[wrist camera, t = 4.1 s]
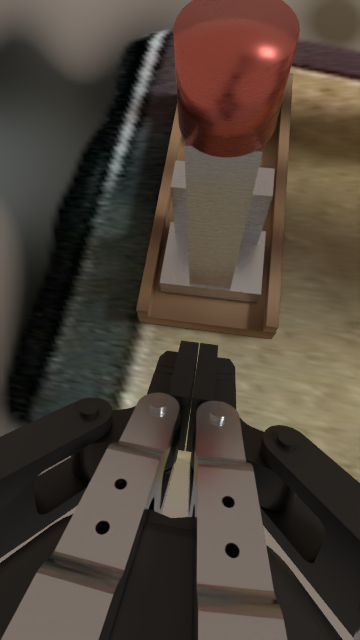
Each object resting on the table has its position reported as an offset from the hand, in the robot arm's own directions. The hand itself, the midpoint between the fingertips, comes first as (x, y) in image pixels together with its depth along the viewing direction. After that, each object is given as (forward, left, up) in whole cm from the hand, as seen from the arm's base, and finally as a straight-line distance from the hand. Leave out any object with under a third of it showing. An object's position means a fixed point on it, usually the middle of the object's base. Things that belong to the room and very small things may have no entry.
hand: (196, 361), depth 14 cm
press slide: (-4, -9, -9) cm, 13 cm away
